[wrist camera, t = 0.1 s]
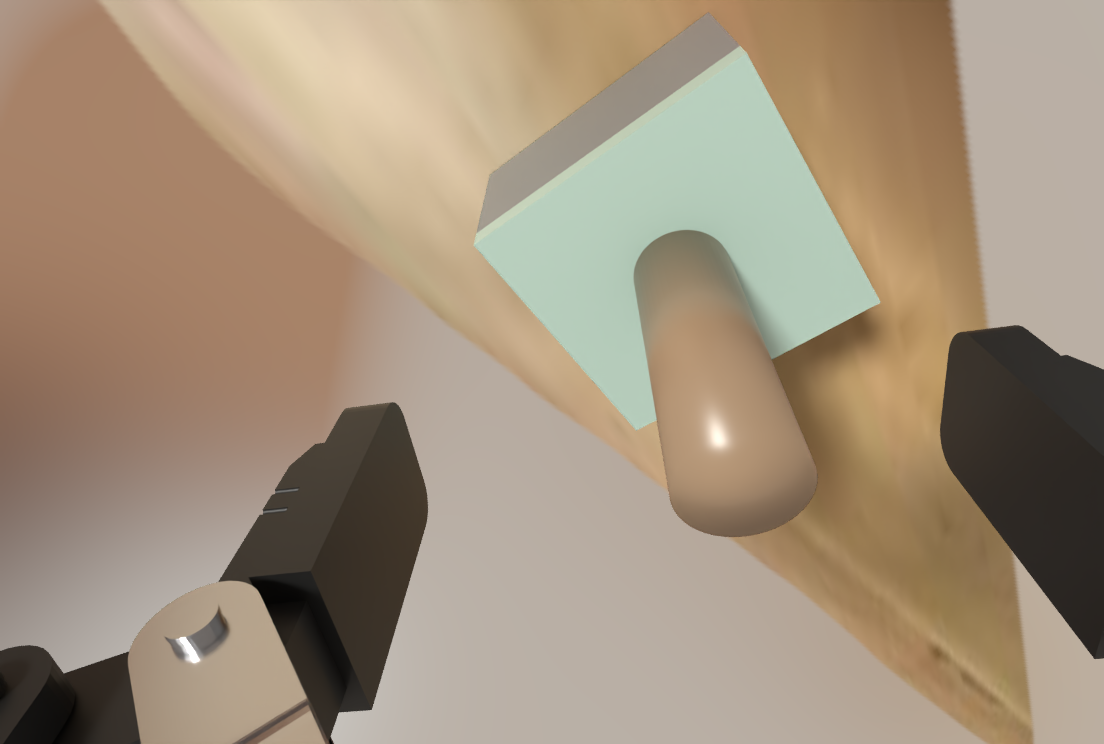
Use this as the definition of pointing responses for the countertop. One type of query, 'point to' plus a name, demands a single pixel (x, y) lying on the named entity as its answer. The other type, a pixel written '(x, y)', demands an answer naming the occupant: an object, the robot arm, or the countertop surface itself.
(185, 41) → the countertop surface
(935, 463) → the countertop surface
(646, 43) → the countertop surface
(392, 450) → the robot arm
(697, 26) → the storage box
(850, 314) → the peg on green base
